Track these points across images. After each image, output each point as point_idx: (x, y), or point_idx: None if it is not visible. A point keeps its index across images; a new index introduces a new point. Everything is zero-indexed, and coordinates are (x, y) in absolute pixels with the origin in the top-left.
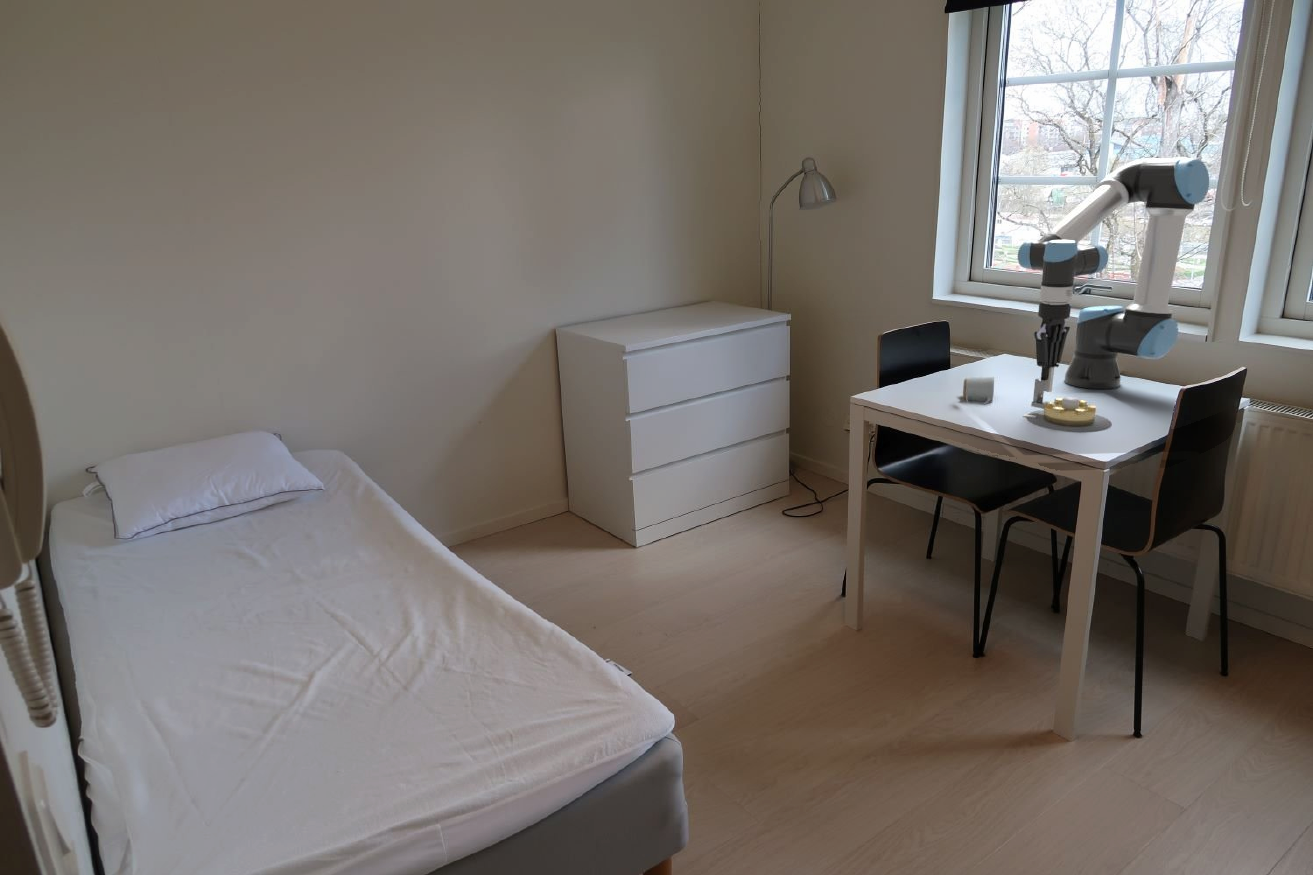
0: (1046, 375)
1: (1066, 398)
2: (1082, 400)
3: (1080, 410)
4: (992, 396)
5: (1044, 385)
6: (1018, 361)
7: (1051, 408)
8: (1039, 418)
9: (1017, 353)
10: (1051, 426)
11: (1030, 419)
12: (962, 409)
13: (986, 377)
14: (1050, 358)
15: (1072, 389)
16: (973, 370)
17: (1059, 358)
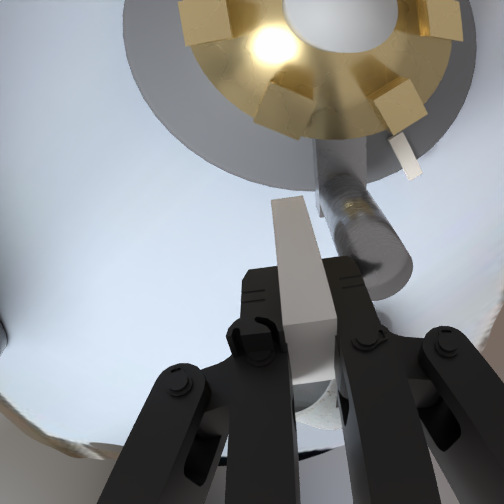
0: (358, 280)
1: (353, 29)
2: (186, 25)
3: None
4: None
5: (361, 226)
6: (41, 419)
7: (412, 72)
8: None
9: (31, 427)
10: None
11: (434, 129)
12: (401, 334)
13: (314, 419)
14: (400, 418)
15: (8, 308)
16: None
17: (174, 409)
